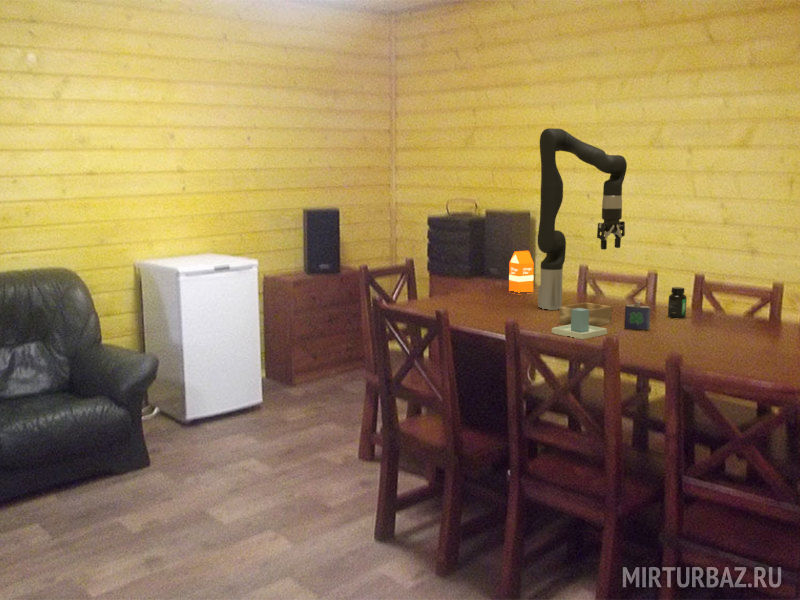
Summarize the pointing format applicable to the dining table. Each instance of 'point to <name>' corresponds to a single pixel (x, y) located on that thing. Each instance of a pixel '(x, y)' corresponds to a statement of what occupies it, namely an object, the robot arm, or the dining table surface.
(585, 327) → the block
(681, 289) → the supplement bottle
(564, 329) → the plate
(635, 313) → the flask
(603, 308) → the crate
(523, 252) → the orange juice
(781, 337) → the dining table surface
